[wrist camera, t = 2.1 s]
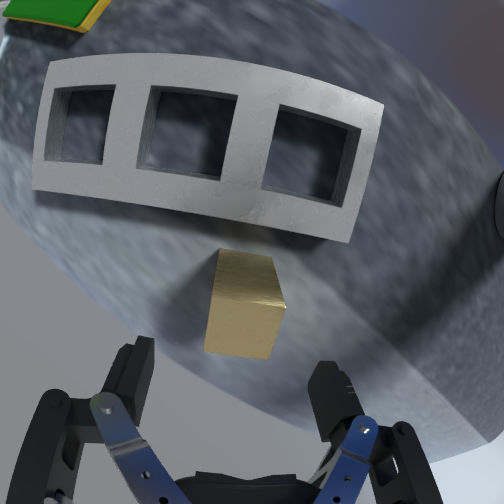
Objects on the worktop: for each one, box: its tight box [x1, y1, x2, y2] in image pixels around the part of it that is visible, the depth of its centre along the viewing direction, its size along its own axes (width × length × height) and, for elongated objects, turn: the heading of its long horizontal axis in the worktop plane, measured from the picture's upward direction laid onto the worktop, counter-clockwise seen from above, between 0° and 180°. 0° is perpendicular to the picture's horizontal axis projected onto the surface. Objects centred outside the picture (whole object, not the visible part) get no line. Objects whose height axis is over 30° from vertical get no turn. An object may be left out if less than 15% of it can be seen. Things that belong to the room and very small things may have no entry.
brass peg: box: [204, 248, 286, 360], centre depth 18 cm, size 4×4×7 cm
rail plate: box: [32, 53, 384, 243], centre depth 16 cm, size 24×10×2 cm, turn 78°
